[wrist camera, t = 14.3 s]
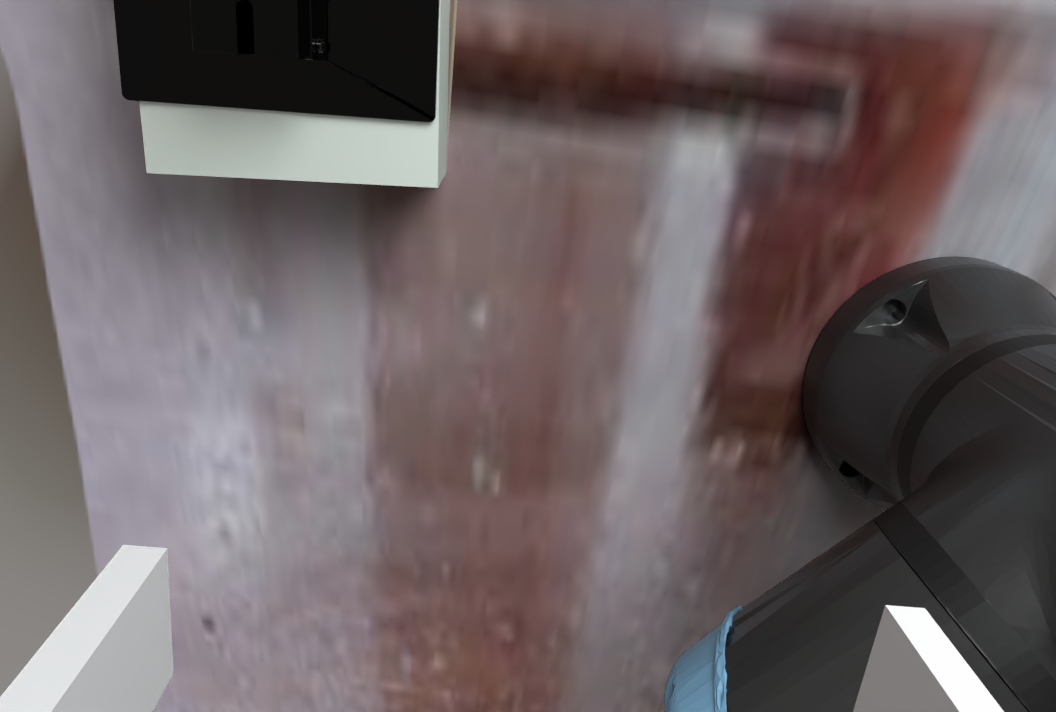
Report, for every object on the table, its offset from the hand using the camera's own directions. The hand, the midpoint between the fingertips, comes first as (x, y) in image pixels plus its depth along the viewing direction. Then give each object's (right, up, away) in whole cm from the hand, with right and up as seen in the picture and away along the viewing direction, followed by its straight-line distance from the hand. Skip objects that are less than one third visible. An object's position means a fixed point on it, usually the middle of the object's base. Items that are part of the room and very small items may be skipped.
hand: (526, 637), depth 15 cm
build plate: (-10, +18, +17) cm, 27 cm away
